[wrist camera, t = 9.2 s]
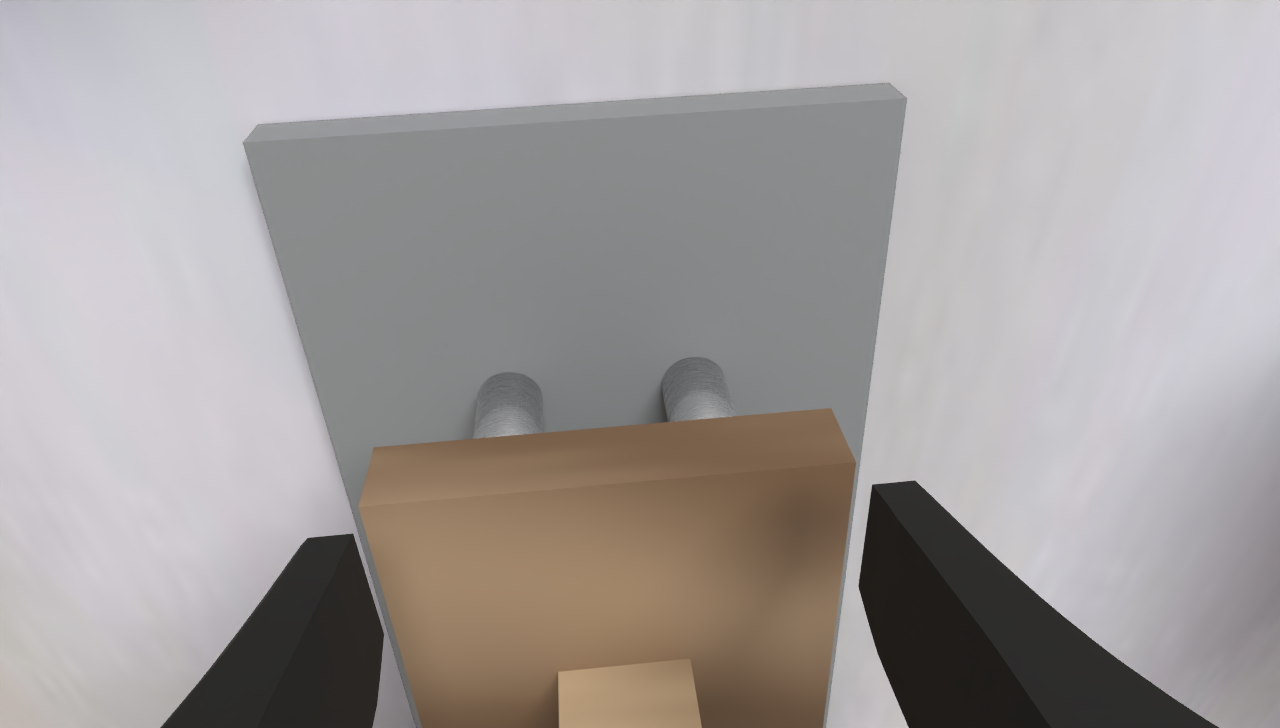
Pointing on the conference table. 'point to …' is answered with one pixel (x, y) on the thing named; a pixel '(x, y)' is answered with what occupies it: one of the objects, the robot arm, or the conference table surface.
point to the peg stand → (584, 266)
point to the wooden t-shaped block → (617, 572)
